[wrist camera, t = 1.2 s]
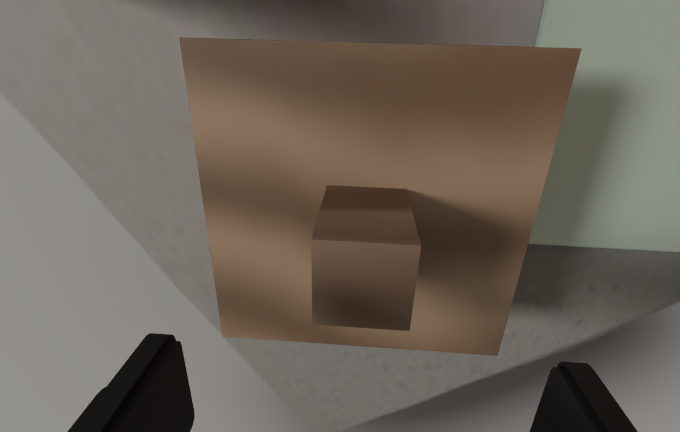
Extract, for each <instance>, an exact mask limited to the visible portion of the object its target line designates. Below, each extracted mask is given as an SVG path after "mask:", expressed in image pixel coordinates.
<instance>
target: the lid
mask: <svg viewBox="0 0 680 432" xmlns="http://www.w3.org/2000/svg"><path fill="white" fill-rule="evenodd" d="M180 45H181V52H182V59H183V66H184V73H185V80H186V86H187V93H188V100H189V107H190V114H191V121H192V128H193V135H194V142H195V149H196V156H197V163H198V169H199V176H200V183H201V190H202V197H203V204H204V211H205V218H206V225H207V232H208V239H209V246H210V252H211V259H212V266H213V273H214V280H215V287H216V294H217V301H218V308H219V315H220V322H221V329H222V336H223V337H238V338H252V339H266V340H281V341H295V342H310V343H324V344H338V345H353V346H367V347H381V348H396V349H410V350H425V351H439V352H453V353H468V354H482V355H496V356H498V352H499V348H500V345H501V341H502V337H503V334H504V330H505V326H506V323H507V319H508V315H509V312H510V308H511V305H512V301H513V297H514V294H515V290H516V286H517V283H518V279H519V275H520V272H521V268H522V265H523V261H524V257H525V254H526V250H527V246H528V243H529V239H530V235H531V232H532V228H533V224H534V221H535V217H536V214H537V210H538V206H539V203H540V199H541V195H542V192H543V188H544V184H545V181H546V177H547V173H548V170H549V166H550V163H551V159H552V155H553V152H554V148H555V144H556V141H557V137H558V133H559V130H560V126H561V123H562V119H563V115H564V112H565V108H566V104H567V101H568V97H569V93H570V90H571V86H572V82H573V79H574V75H575V72H576V68H577V64H578V61H579V57H580V53H581V50H582V48H553V47H515V46H478V45H440V44H403V43H365V42H327V41H290V40H252V39H215V38H180Z"/></svg>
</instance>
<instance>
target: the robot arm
mask: <svg viewBox="0 0 680 432" xmlns="http://www.w3.org/2000/svg"><path fill="white" fill-rule="evenodd" d="M193 421H194V408H193V403H192V398H191V392H190V387H189V382H188V377H187V372H186V366H185V361H184V356H183V351H182V345H181V343H180V341H176V340H175V337H174V336H173V335H167V334H148V335H147V336H146V337H145V338H144V339H143V341H142V342H141V343H140V345H139V346H138V347H137V348H136V350H135V351H134V352H133V353H132V355H131V356H130V357H129V359H128V360H127V361H126V362H125V364H124V365H123V366H122V368H121V369H120V370H119V371H118V373H117V374H116V375H115V377H114V378H113V379H112V380H111V382H110V383H109V384H108V386H107V387H105V388H104V389H102V390H101V391H100V392H99V393H98V394H97V395H96V396H95V398H94V399H93V400H92V401H91V403H90V404H89V405H88V406H87V408H86V409H85V410H84V412H83V413H82V414H81V415H80V417H79V418H78V419H77V420H76V422H75V423H74V424H73V426H72V427H71V428H70V429H69V431H68V432H190V430H191V428H192V425H193ZM530 432H637V430H636V429H635V427H634V426H633V425H632V423H631V422H630V420H629V419H628V417H627V416H626V415H625V413H624V412H623V410H622V409H621V408H620V406H619V405H618V403H617V402H616V401H615V399H614V398H613V396H612V395H611V394H610V392H609V391H608V389H607V388H606V386H605V385H604V384H603V382H602V381H601V380H600V378H599V377H598V375H597V374H596V372H595V371H594V370H593V369H592V367H591V366H590V365H588V364H587V363H573V362H560V363H559V364H558V366H557V368H555V367H554V368H552V369H551V371H550V374H549V377H548V380H547V383H546V386H545V388H544V391H543V394H542V397H541V400H540V403H539V406H538V409H537V412H536V415H535V418H534V421H533V424H532V427H531V430H530Z"/></svg>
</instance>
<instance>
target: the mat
mask: <svg viewBox="0 0 680 432" xmlns="http://www.w3.org/2000/svg"><path fill="white" fill-rule="evenodd" d="M535 47H553V48H582V50H581V53H580V57H579V61H578V64H577V68H576V72H575V75H574V79H573V82H572V86H571V90H570V93H569V97H568V101H567V104H566V108H565V112H564V115H563V119H562V123H561V126H560V130H559V133H558V137H557V141H556V144H555V148H554V152H553V155H552V159H551V163H550V166H549V170H548V173H547V177H546V181H545V184H544V188H543V192H542V195H541V199H540V203H539V206H538V210H537V214H536V217H535V221H534V224H533V228H532V232H531V235H530V239H529V243H528V244H540V245H558V246H577V247H595V248H614V249H633V250H651V251H670V252H680V0H545V3H544V8H543V12H542V16H541V21H540V25H539V30H538V34H537V39H536V43H535Z"/></svg>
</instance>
